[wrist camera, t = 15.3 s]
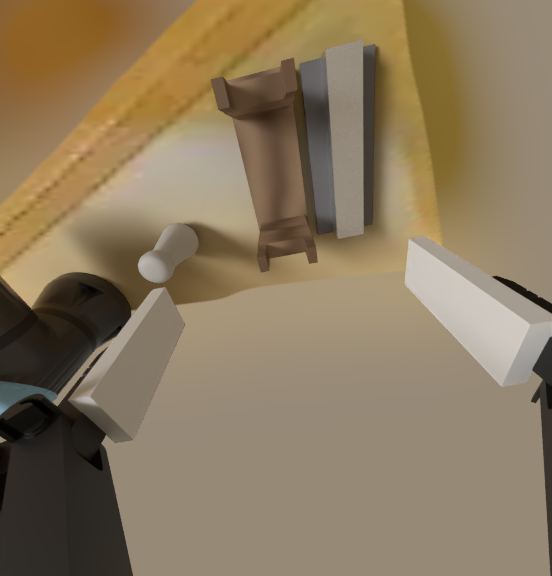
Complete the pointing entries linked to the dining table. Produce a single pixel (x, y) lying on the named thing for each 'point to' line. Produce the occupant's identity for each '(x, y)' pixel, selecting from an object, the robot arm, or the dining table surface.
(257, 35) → the dining table surface
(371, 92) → the rubber mat
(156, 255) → the salt shaker
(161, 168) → the dining table surface
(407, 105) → the dining table surface
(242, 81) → the bracket stand
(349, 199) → the metal rail
